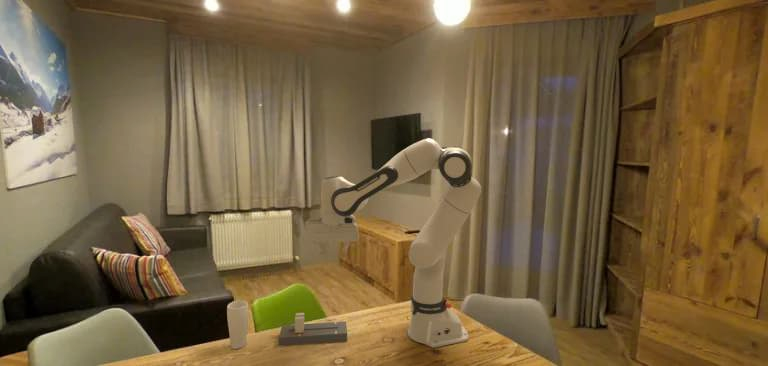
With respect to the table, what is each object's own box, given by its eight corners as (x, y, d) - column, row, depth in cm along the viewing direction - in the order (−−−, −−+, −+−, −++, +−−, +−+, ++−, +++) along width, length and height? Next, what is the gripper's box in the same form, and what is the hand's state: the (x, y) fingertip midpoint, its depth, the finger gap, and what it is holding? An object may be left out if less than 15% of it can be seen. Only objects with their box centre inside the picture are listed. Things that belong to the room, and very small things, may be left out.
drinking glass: (241, 352, 123) (240, 309, 122) (223, 349, 124) (222, 307, 123) (252, 341, 130) (251, 301, 128) (235, 339, 131) (234, 299, 130)
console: (345, 328, 140) (345, 321, 140) (347, 341, 131) (347, 332, 131) (282, 332, 136) (281, 325, 136) (278, 345, 127) (278, 337, 127)
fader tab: (304, 325, 135) (304, 312, 135) (303, 332, 130) (303, 318, 130) (296, 325, 135) (295, 312, 134) (294, 332, 130) (294, 319, 129)
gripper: (304, 220, 134) (304, 256, 135) (359, 219, 137) (359, 254, 139) (305, 216, 140) (305, 251, 142) (358, 216, 143) (357, 250, 145)
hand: (332, 253), depth 140 cm, fingers open, 8 cm apart
